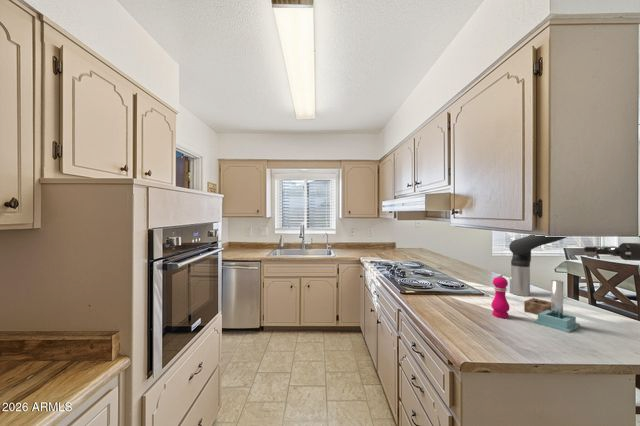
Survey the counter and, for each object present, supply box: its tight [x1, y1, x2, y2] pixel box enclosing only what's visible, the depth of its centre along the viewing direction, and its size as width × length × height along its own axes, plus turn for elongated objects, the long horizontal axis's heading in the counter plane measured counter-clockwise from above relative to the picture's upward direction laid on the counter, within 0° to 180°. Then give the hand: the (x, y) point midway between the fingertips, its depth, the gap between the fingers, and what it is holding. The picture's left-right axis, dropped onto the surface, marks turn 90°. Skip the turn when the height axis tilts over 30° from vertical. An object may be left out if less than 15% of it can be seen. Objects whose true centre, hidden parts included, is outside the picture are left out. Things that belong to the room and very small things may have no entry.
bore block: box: [523, 297, 551, 316], centre depth 135 cm, size 10×10×5 cm
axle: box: [550, 279, 565, 319], centre depth 120 cm, size 4×4×18 cm
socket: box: [533, 310, 581, 333], centre depth 120 cm, size 12×12×4 cm
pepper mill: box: [491, 273, 511, 319], centre depth 130 cm, size 7×7×20 cm
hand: (590, 250), depth 124 cm, fingers open, 8 cm apart
